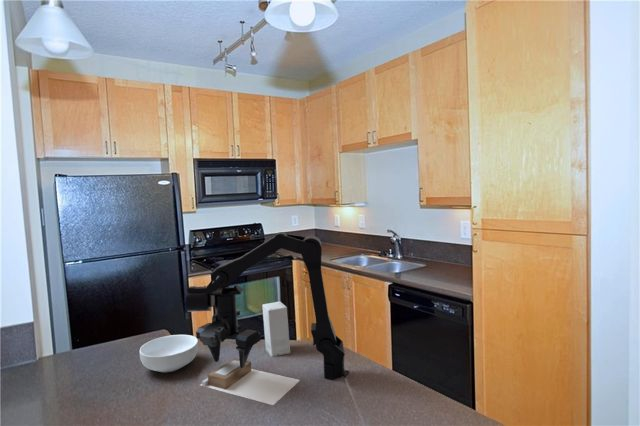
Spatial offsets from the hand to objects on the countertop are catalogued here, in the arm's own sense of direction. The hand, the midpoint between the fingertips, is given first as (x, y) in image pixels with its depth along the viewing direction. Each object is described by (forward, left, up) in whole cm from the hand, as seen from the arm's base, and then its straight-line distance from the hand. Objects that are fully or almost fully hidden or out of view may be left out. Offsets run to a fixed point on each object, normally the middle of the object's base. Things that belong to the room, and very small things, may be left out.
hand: (229, 364), depth 107 cm
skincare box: (-21, +2, -5) cm, 21 cm away
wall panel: (0, +7, -5) cm, 8 cm away
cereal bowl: (0, -23, -5) cm, 24 cm away
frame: (0, 0, -4) cm, 4 cm away
